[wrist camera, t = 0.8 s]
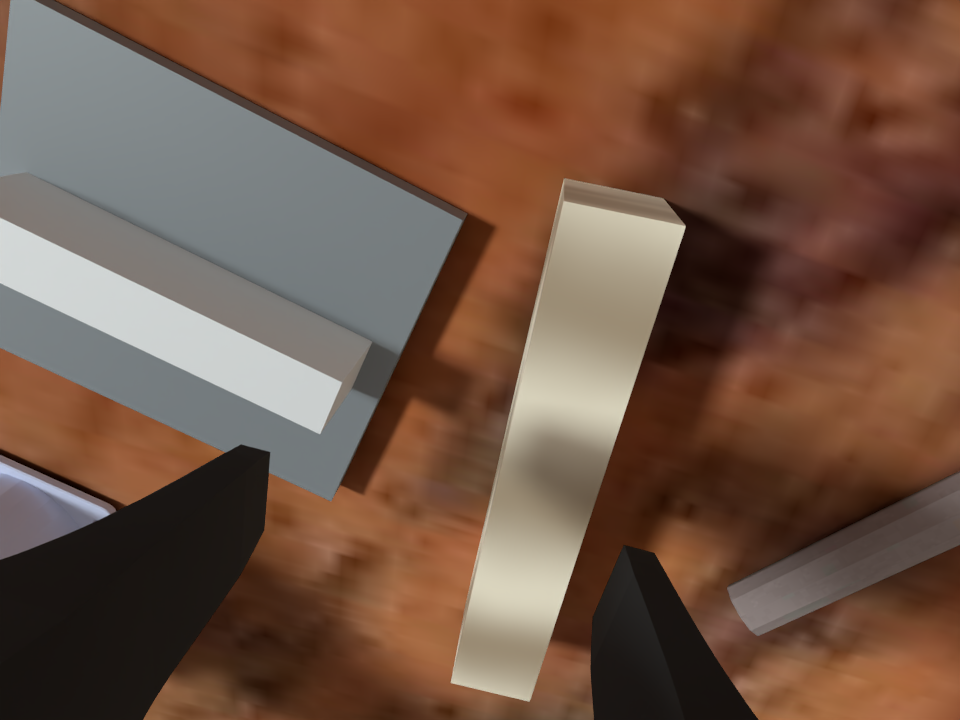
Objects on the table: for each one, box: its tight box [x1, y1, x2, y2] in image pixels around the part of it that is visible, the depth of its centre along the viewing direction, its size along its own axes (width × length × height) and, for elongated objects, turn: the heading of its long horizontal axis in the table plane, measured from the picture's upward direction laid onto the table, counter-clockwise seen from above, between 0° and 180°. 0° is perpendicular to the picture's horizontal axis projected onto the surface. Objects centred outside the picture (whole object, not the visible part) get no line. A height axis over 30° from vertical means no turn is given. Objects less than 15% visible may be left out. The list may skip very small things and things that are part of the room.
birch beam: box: [451, 178, 686, 702], centre depth 20 cm, size 18×3×4 cm, turn 170°
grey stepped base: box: [0, 0, 467, 501], centre depth 19 cm, size 12×14×4 cm
